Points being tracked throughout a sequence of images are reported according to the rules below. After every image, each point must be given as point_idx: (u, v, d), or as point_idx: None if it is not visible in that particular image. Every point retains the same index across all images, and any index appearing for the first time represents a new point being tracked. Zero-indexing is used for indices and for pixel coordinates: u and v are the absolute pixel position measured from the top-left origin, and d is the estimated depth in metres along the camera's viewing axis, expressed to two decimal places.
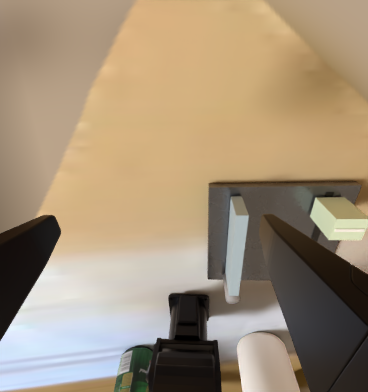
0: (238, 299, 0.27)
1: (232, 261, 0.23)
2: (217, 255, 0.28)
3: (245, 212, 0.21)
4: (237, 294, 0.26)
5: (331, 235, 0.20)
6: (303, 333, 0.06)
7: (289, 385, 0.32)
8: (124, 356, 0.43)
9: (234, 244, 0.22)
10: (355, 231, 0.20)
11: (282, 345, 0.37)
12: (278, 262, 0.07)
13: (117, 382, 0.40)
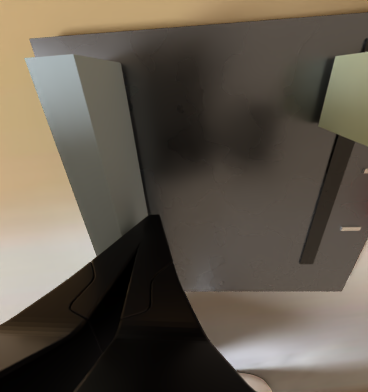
0: None
1: (97, 250, 0.08)
2: None
3: None
4: None
5: None
6: None
7: None
8: None
9: (77, 192, 0.07)
10: None
11: None
12: None
13: None
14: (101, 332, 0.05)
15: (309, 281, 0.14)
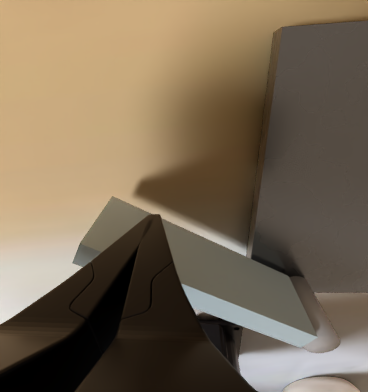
0: (332, 338, 0.11)
1: (204, 309, 0.10)
2: (274, 239, 0.13)
3: (84, 238, 0.09)
4: (311, 337, 0.10)
5: None
6: None
7: None
8: None
9: None
10: None
11: None
12: None
13: None
14: (100, 332, 0.05)
15: None
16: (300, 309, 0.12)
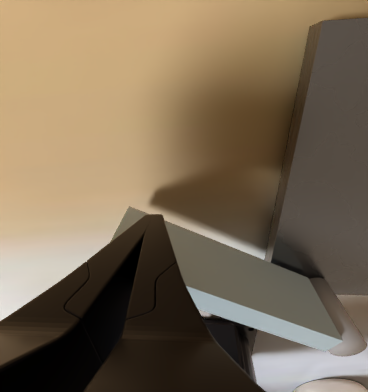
0: (357, 341, 0.11)
1: (226, 316, 0.10)
2: (297, 240, 0.12)
3: None
4: (336, 341, 0.10)
5: None
6: None
7: None
8: None
9: None
10: None
11: None
12: None
13: None
14: (95, 332, 0.05)
15: None
16: (323, 312, 0.11)
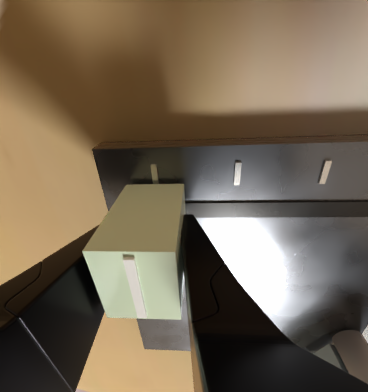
0: None
1: None
2: None
3: None
4: None
5: (164, 315, 0.07)
6: (189, 329, 0.06)
7: None
8: None
9: None
10: (136, 280, 0.06)
11: None
12: (183, 261, 0.07)
13: None
14: (38, 329, 0.05)
15: None
16: None
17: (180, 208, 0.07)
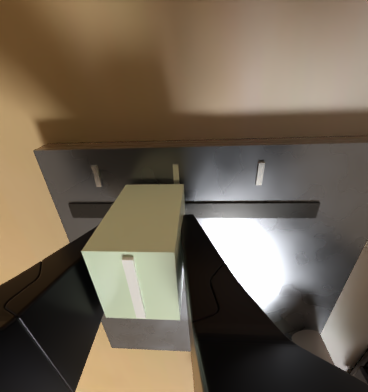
0: None
1: None
2: None
3: None
4: None
5: (163, 316, 0.07)
6: (189, 329, 0.06)
7: None
8: None
9: None
10: (134, 280, 0.06)
11: None
12: (183, 261, 0.07)
13: None
14: (38, 329, 0.05)
15: (363, 197, 0.09)
16: None
17: (179, 208, 0.07)
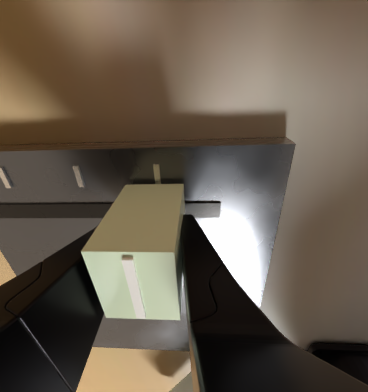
0: None
1: None
2: (185, 342, 0.16)
3: None
4: None
5: (163, 316, 0.07)
6: None
7: None
8: None
9: None
10: (134, 280, 0.06)
11: None
12: (182, 261, 0.07)
13: None
14: (38, 330, 0.05)
15: (260, 197, 0.09)
16: None
17: (179, 208, 0.07)
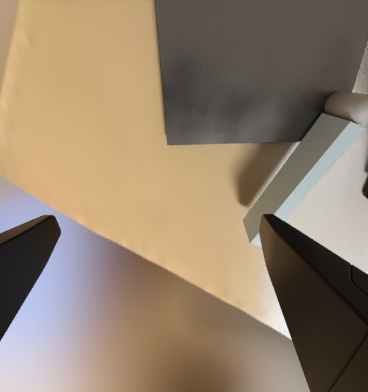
0: (359, 105, 0.14)
1: (304, 195, 0.17)
2: (282, 127, 0.18)
3: None
4: (349, 126, 0.14)
5: None
6: (303, 333, 0.06)
7: None
8: None
9: (284, 218, 0.18)
10: None
11: None
12: (278, 262, 0.07)
13: None
14: None
15: None
16: (335, 122, 0.15)
17: None
